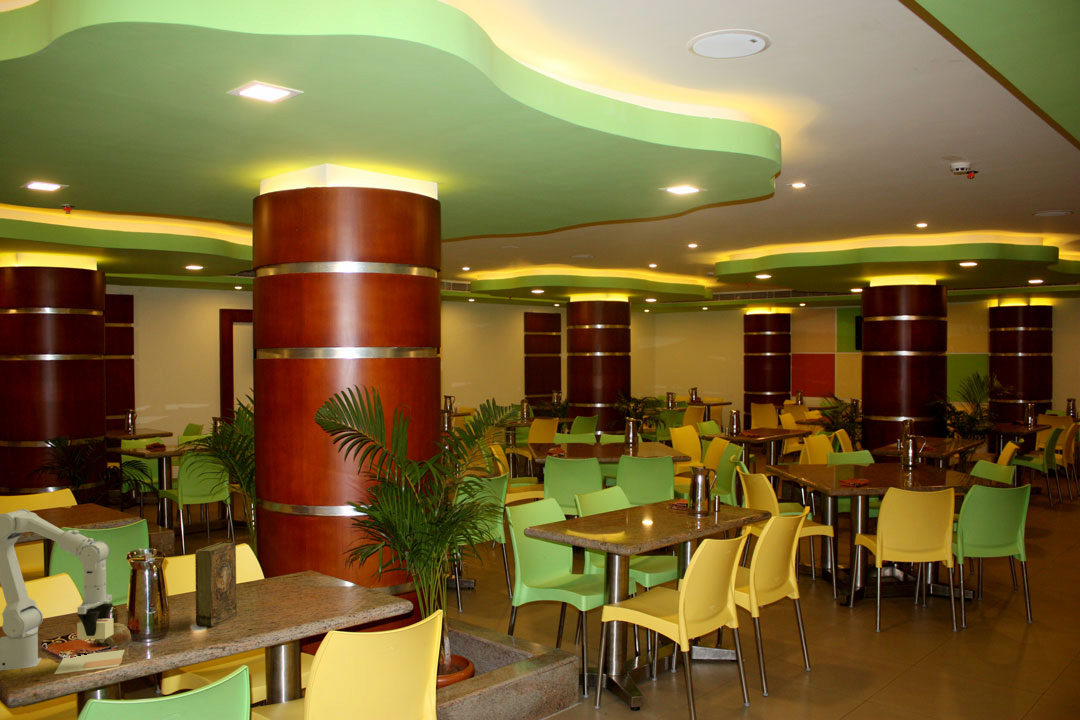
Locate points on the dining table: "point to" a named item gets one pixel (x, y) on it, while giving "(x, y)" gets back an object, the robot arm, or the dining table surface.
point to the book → (215, 583)
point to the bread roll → (116, 636)
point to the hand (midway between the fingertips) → (95, 632)
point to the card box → (97, 629)
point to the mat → (90, 661)
